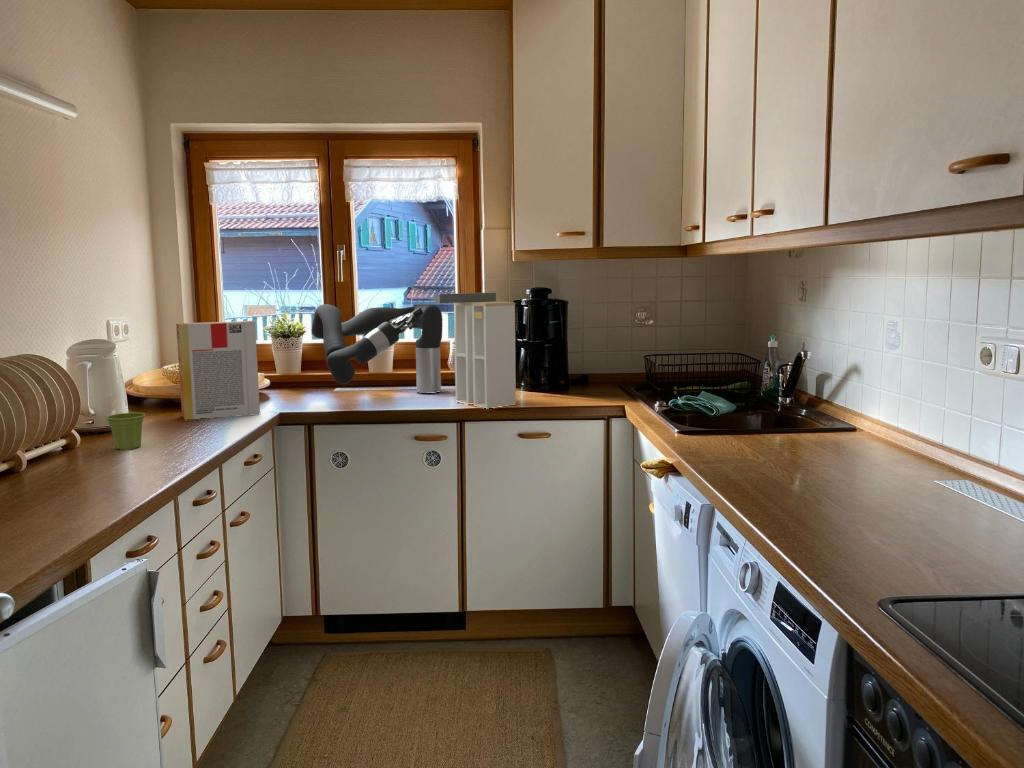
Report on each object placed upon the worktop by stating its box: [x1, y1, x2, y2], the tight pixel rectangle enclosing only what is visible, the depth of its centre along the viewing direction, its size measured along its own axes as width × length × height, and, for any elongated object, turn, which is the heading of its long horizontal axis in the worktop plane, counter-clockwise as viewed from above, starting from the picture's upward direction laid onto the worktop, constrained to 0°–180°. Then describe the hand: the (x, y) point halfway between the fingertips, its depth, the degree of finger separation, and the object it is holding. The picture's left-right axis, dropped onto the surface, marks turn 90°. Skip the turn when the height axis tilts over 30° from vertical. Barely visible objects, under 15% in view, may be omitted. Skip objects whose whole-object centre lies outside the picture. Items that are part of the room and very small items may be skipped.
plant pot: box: [105, 412, 146, 451], centre depth 218 cm, size 9×9×9 cm
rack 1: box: [453, 302, 482, 403], centre depth 288 cm, size 12×8×35 cm, turn 127°
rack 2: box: [472, 301, 517, 410], centre depth 279 cm, size 12×8×35 cm, turn 127°
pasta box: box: [175, 320, 261, 420], centre depth 266 cm, size 23×8×30 cm, turn 117°
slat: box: [434, 292, 497, 304], centre depth 283 cm, size 23×3×3 cm, turn 127°
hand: (420, 310), depth 273 cm, fingers closed
